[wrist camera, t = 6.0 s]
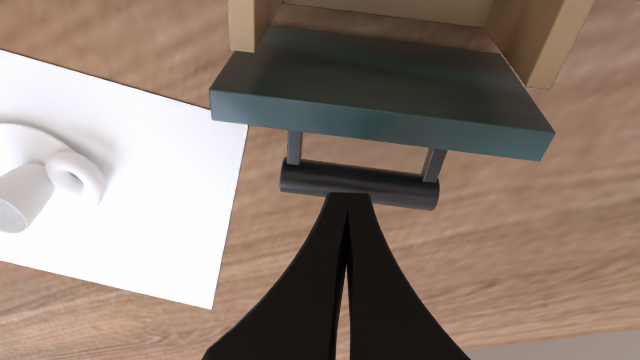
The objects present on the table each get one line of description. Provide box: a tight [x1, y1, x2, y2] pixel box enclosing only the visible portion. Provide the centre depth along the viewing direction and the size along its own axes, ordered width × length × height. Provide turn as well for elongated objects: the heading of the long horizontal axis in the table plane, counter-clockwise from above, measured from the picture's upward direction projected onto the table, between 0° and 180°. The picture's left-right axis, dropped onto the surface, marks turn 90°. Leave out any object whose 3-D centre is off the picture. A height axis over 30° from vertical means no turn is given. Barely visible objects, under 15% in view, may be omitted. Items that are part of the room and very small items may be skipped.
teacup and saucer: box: [0, 122, 107, 235], centre depth 25 cm, size 9×8×4 cm
